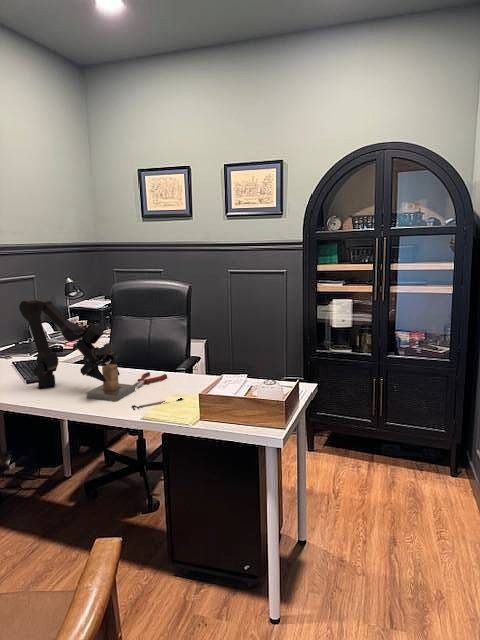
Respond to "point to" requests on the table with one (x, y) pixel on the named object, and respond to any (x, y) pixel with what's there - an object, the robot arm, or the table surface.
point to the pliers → (148, 380)
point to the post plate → (111, 393)
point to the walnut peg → (110, 377)
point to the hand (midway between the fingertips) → (112, 378)
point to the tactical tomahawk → (147, 405)
